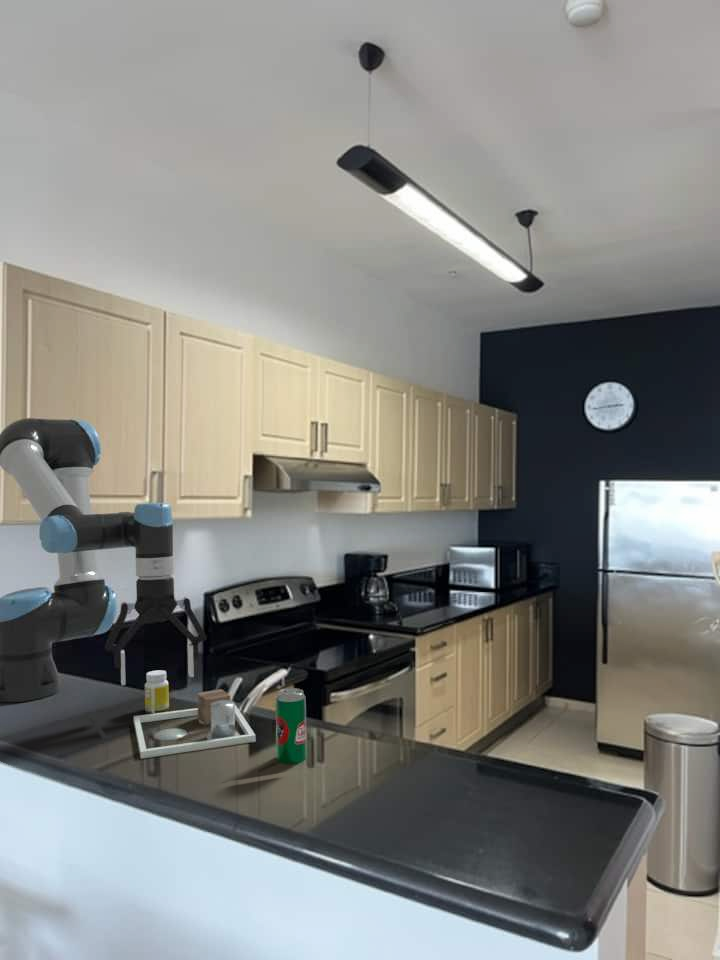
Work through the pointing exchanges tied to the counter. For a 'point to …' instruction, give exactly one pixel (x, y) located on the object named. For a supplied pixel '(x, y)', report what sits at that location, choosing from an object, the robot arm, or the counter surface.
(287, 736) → the soda can
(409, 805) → the counter surface
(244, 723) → the collection tray
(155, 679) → the supplement bottle
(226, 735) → the translucent grey cylinder
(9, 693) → the robot arm
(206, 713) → the walnut block
